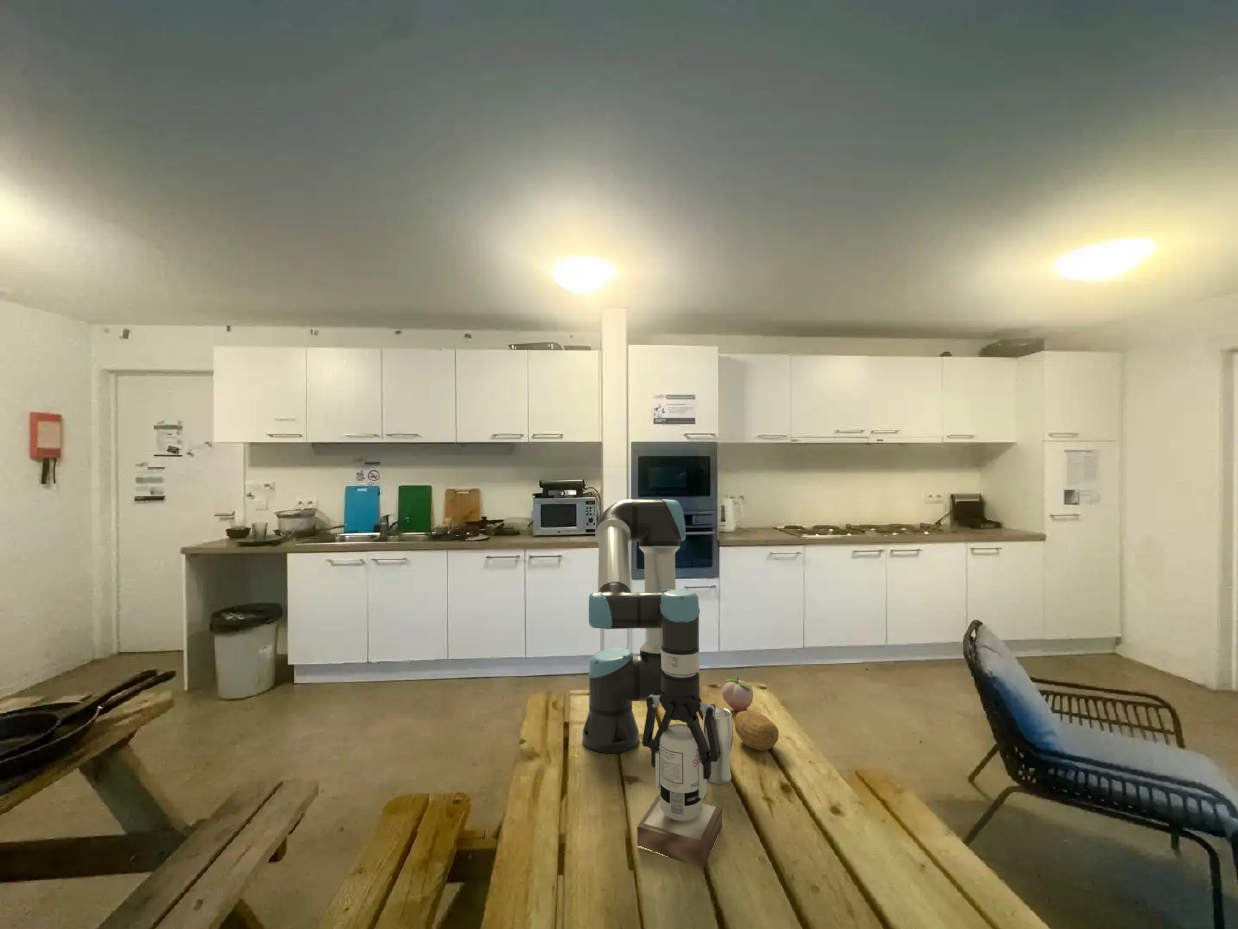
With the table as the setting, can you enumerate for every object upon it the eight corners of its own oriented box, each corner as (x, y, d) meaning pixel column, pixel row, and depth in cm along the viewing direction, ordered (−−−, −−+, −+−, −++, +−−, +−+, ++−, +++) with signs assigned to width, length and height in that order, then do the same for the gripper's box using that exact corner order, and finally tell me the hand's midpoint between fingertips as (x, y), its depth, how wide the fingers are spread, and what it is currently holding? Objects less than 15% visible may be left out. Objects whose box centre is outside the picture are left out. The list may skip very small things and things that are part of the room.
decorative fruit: (759, 710, 164) (758, 677, 164) (746, 719, 157) (745, 685, 158) (731, 702, 170) (731, 670, 170) (717, 710, 164) (717, 677, 164)
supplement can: (656, 799, 109) (656, 723, 110) (697, 797, 110) (696, 722, 110) (663, 824, 101) (663, 742, 102) (706, 822, 102) (706, 740, 102)
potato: (754, 731, 150) (754, 702, 150) (788, 755, 137) (788, 723, 137) (724, 738, 146) (724, 708, 147) (756, 762, 133) (756, 730, 134)
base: (637, 848, 102) (637, 825, 102) (661, 810, 114) (661, 789, 114) (703, 868, 97) (703, 844, 97) (722, 826, 108) (722, 805, 109)
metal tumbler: (736, 773, 128) (735, 709, 129) (729, 788, 122) (728, 721, 123) (707, 767, 131) (707, 704, 132) (699, 781, 125) (699, 715, 125)
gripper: (624, 669, 108) (624, 786, 107) (728, 686, 99) (729, 813, 98) (638, 658, 114) (639, 768, 113) (737, 673, 105) (738, 792, 105)
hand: (680, 789), depth 106 cm, fingers closed on supplement can, 8 cm apart
